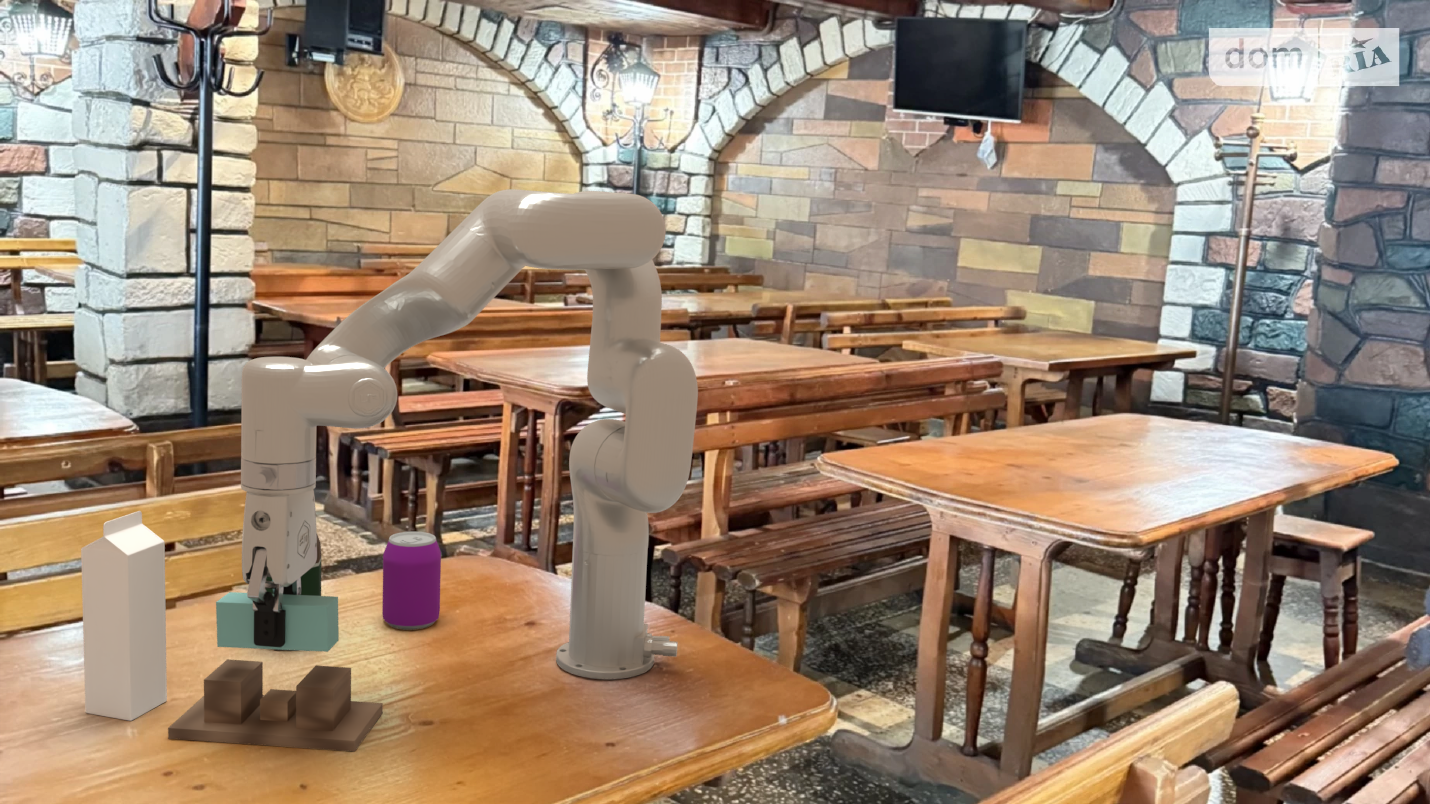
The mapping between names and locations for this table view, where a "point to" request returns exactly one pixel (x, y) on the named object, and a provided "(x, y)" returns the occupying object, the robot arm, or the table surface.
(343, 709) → the ledge stand
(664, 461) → the robot arm
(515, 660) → the table surface
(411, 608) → the beverage can
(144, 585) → the milk
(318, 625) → the teal bar
